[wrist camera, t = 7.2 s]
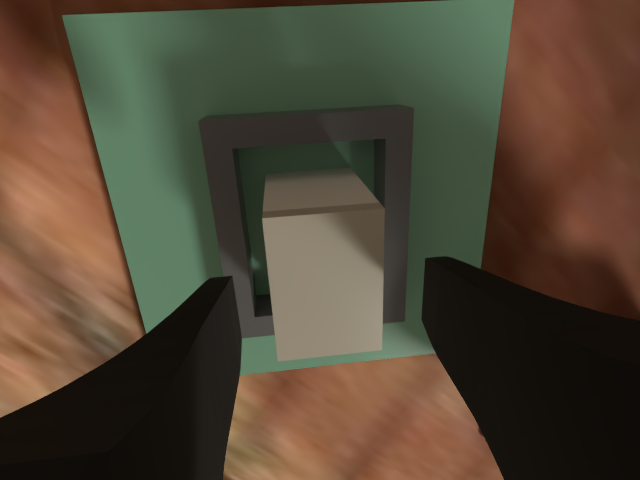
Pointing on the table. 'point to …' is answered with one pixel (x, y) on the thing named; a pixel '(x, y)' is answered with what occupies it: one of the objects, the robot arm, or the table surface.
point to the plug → (324, 263)
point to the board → (293, 141)
